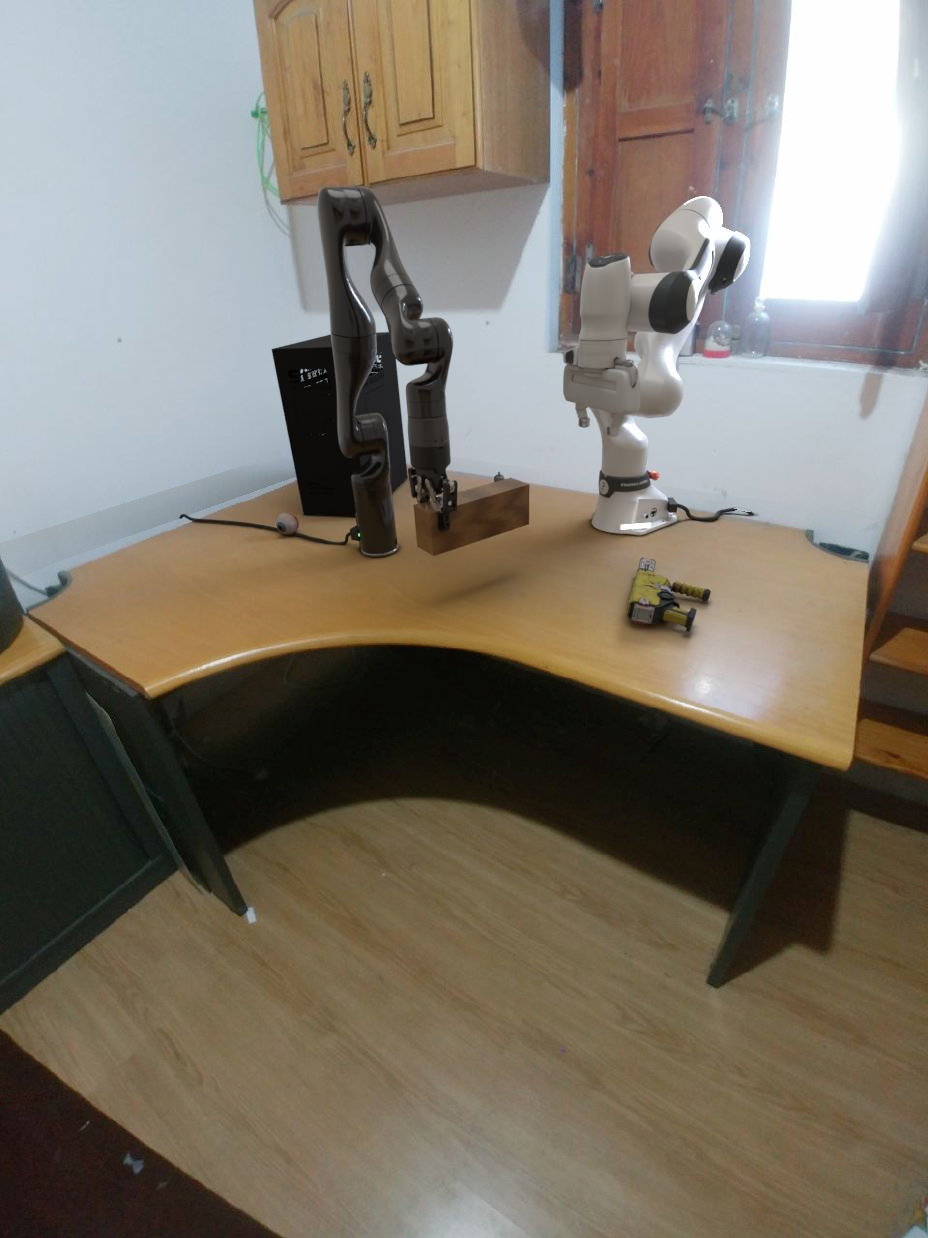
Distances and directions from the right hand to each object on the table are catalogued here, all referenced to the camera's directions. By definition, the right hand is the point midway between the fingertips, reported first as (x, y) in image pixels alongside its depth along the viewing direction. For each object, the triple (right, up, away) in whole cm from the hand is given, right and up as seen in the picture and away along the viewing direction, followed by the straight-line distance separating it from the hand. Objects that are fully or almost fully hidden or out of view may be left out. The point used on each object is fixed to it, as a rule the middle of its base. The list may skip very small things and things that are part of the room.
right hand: (597, 431), depth 119 cm
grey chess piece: (-16, -7, +52) cm, 55 cm away
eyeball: (-74, -14, +46) cm, 88 cm away
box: (-24, -20, +7) cm, 32 cm away
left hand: (-32, -19, 0) cm, 37 cm away
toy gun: (+15, -34, +2) cm, 37 cm away
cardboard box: (-60, +2, +73) cm, 94 cm away
